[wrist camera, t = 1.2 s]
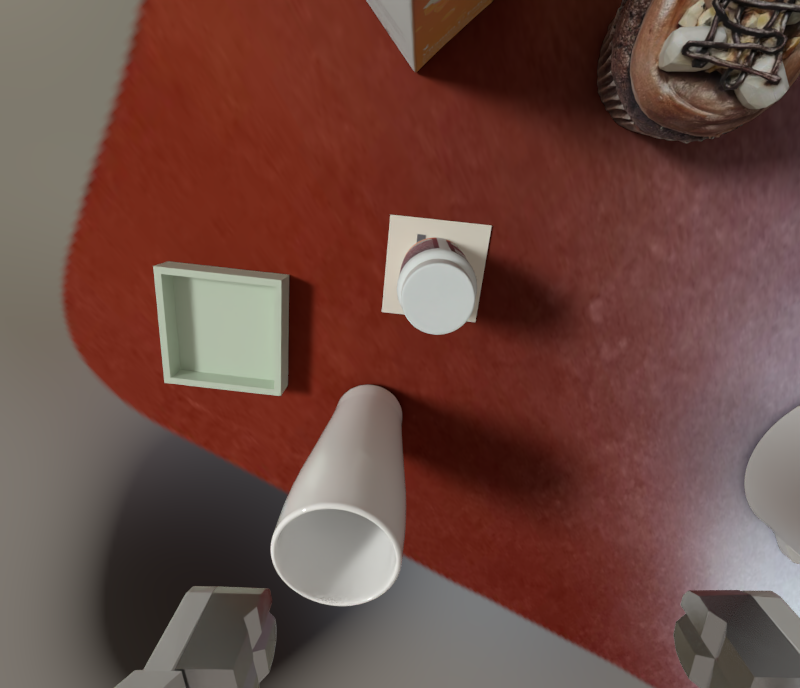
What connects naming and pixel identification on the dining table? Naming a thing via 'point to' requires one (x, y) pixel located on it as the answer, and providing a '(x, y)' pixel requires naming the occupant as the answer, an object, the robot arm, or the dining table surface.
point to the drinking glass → (347, 505)
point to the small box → (424, 24)
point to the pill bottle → (436, 286)
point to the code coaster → (416, 229)
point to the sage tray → (223, 327)
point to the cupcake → (697, 64)
